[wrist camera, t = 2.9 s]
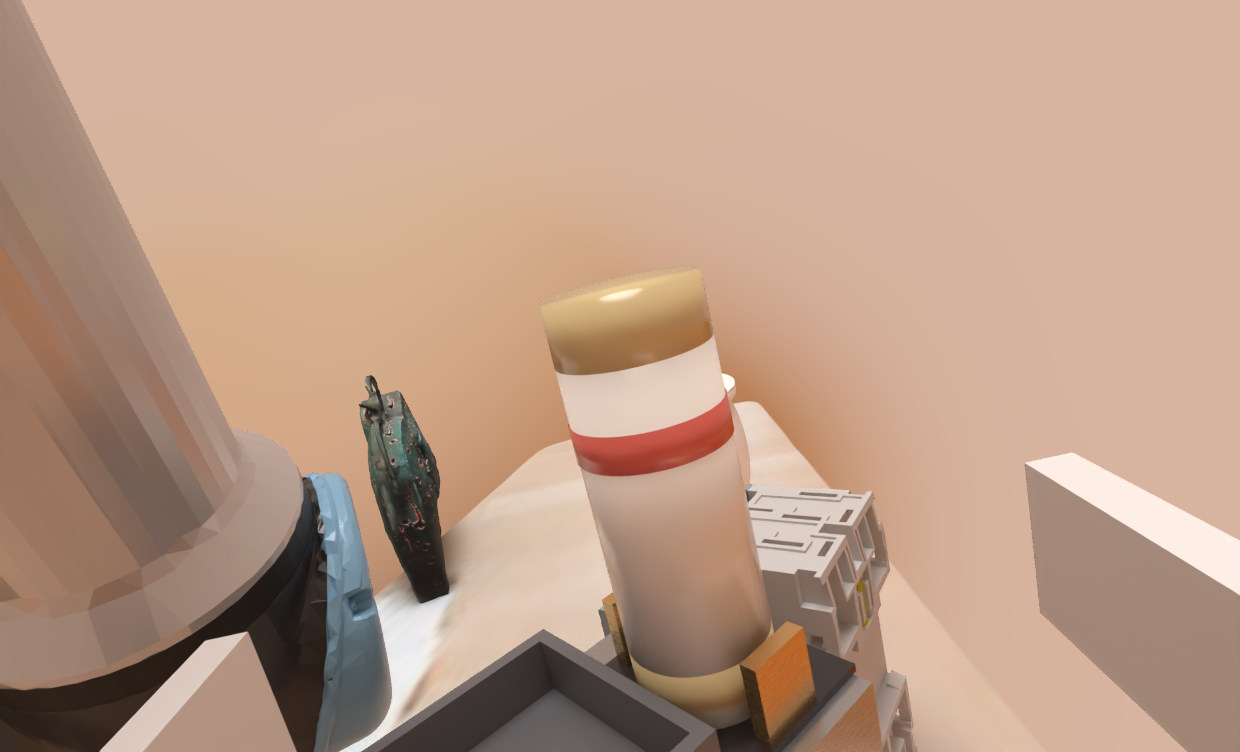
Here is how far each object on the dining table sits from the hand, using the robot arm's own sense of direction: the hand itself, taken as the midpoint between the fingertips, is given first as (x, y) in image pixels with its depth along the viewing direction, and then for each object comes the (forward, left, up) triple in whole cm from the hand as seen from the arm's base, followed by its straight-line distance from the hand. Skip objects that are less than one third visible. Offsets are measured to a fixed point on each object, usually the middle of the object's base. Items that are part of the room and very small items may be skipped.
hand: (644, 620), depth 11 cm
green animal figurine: (-59, +17, -24) cm, 66 cm away
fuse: (-8, +7, -10) cm, 14 cm away
